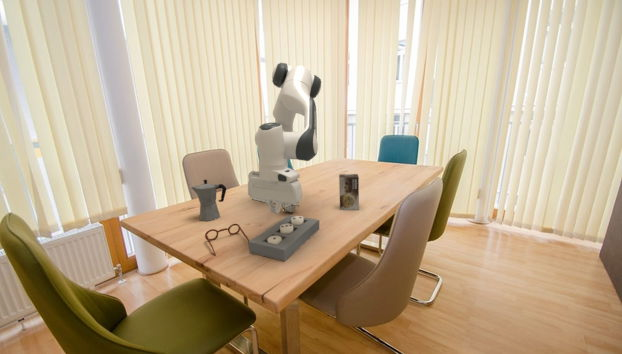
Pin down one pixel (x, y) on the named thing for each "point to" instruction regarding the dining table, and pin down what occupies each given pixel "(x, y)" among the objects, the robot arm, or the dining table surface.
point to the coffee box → (349, 191)
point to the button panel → (283, 239)
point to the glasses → (223, 230)
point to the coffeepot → (209, 200)
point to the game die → (288, 207)
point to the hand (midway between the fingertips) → (274, 212)
